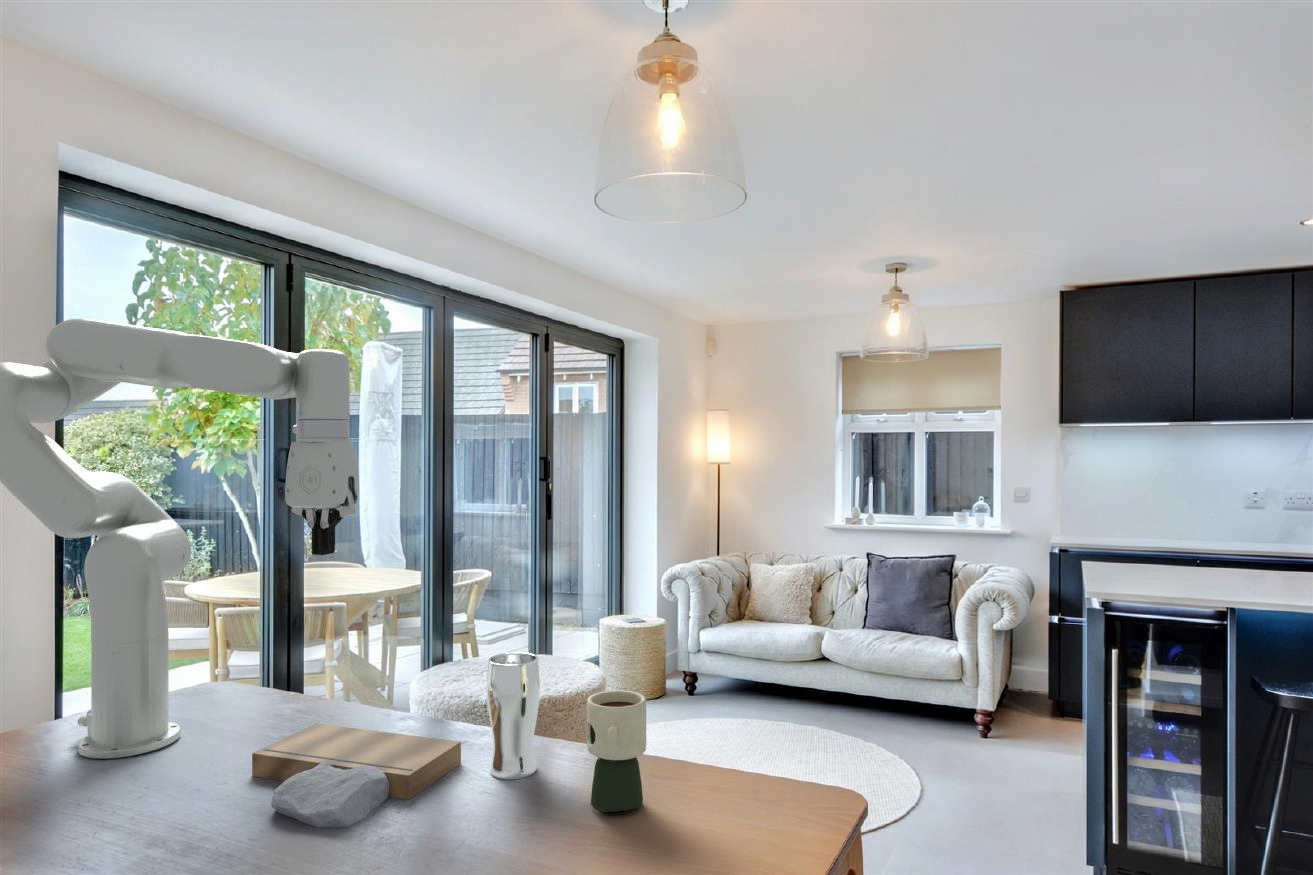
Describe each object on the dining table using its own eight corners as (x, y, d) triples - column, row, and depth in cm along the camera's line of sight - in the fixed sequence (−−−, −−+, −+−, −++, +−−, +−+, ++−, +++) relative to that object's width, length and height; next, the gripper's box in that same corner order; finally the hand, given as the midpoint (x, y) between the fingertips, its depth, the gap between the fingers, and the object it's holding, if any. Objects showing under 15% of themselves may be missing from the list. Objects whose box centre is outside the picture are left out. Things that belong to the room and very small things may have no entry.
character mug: (593, 787, 105) (593, 684, 105) (649, 788, 105) (649, 685, 105) (580, 827, 94) (580, 712, 94) (643, 828, 94) (642, 713, 94)
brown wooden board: (252, 775, 109) (252, 752, 109) (316, 744, 120) (316, 722, 120) (408, 799, 101) (408, 774, 101) (460, 763, 113) (460, 740, 113)
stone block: (347, 848, 93) (397, 794, 103) (340, 810, 93) (391, 759, 102) (260, 838, 97) (316, 787, 106) (253, 801, 96) (310, 753, 105)
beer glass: (548, 764, 112) (548, 653, 113) (524, 784, 106) (524, 667, 106) (503, 757, 115) (503, 649, 115) (476, 777, 108) (476, 662, 108)
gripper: (264, 432, 124) (264, 555, 123) (348, 431, 119) (348, 559, 119) (300, 432, 131) (300, 548, 131) (380, 432, 126) (381, 552, 126)
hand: (323, 553), depth 125 cm, fingers closed
